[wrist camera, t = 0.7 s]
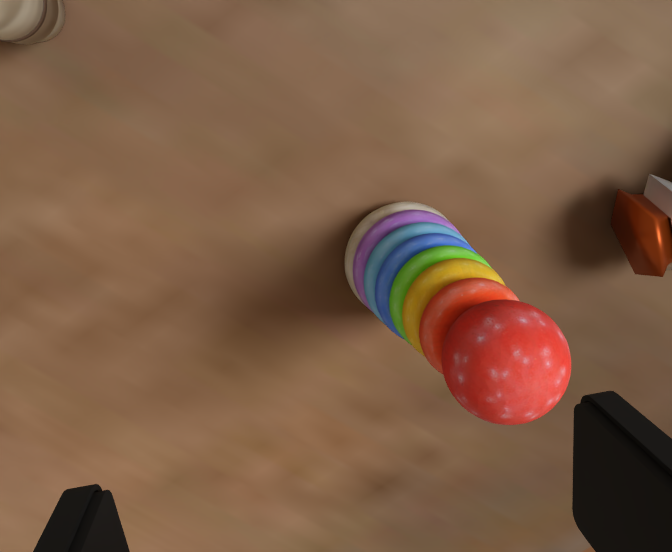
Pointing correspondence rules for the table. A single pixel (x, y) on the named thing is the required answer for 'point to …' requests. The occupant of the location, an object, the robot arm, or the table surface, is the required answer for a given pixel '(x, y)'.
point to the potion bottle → (646, 227)
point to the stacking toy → (457, 313)
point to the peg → (30, 20)
